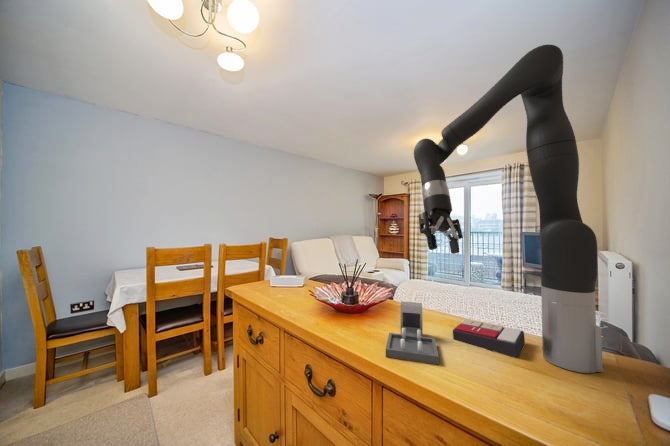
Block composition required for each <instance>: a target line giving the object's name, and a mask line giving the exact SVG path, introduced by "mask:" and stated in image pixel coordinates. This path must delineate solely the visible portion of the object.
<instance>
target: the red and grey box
mask: <svg viewBox="0 0 670 446" xmlns="http://www.w3.org/2000/svg"><path fill="white" fill-rule="evenodd" d="M452 338H453V340H454V341H458V342H460V343H464V344H467V345H471V346H474V347H478V348H481V349H485V350H489V351H493V352H495V353H498V354H501V355H504V356H507V357H511V358H515V359H519V358H520V357H521V353H522V352H523V350H524V347H525V345H526V343H525V341H526V340H525V332H524V331H523V330H521V329H518V328H512V327H507V326H505V327H504V325H501V324H495V323H489V322H484V323H483V321H479V320H473V319H467V318H466V319H463V321H461V322H460V323H459V324H458V325H456V326H455V327H454V328H453V329H452Z"/></svg>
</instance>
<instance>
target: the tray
mask: <svg viewBox="0 0 670 446" xmlns="http://www.w3.org/2000/svg"><path fill="white" fill-rule="evenodd" d="M437 347H438V346H437V343H436V339H435V338H434V337H426V336H423V337H421V330H417V336H412V335H406V329H405V328H402V334H401V333H394V332H389V333H388V337H387V341H386V346H385V357H386V358H391V359H392V358H393V359H399V360H407V361H413V362H420V363H426V364H431V365H432V364H433V365H440V363H439V361H440V360H439V357H440V356H439V351H438V348H437Z"/></svg>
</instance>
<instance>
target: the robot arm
mask: <svg viewBox="0 0 670 446" xmlns="http://www.w3.org/2000/svg"><path fill="white" fill-rule="evenodd" d="M563 75H564V54H563V52H562V50H561V48H560V47H559V46H558V45H555V44H542V45H540V46H537V47H534V48H533V49H531V50H529V51H528V52H526V54H524V56H522V57H521V58H520V59H519V60H518V61H517V62H516V63H515V64H513V66H512V67H511V68H510V69H509V70H508V71H507V73H505V74H504V75H503V76H502V77H501V78H500V79H499V80H498V81H497V82H496V83H495V84H494V85H492V87H491V88H490V89H489V90H488V91H487V92H486V93H484V95H482V96H481V97H480V98H479V99H478V100H477V101H476V102H474V103H473V105H471V106H470V107H468V109H467V110H465V111H464V112H462V113H461V114H460V115H459V116H458V117H456V118H454V120H453V121H451V122H450V123H448V125H446V126H445V127H444V128H442V130H441V133H440V134H441V137H442V139H441V140H440V141H439V142H438V143H436V142H435V141H434V140H433V139H431V138H422V139H420V140H419V141H417V143H416V145H415V146H414V149H413V157H414V163H415V165H416V168H417V170H418V173H419V175H420V182H421V183H420V184H421V193H422V194H421V195H422V203H423V209H424V211H423V212H421V213H418V224H419V225H418V226H419V232H420V234H422V235H423V234H424V235H425V237H426V242H427V246H428V249H429V250H431V251H433V250H436V249H438V245H437V237H436V236H437V235H435V234H436V232H438V231H439V232H440V233H442V234H443V236H446V237H447V239H448V240H449V241H448V242H449V243H448V244H449V249H450V254H452V255H454V254H458V253H460V245H459V240H460V239H463V232H462V227H461V224H460V220H459V219H458V218H455V219H452V217H451V213H452V212H453V206H452V200H451V196H450V190H449V187H448V185H447V179H446V173H445V170H444V168H443V167H442V166H441V164H443V163H444V162H445V161H446V160H447V159H448V158H449V157H450V156H452V153H453V152H454V151H455V150H456V149H457V147H459V146H460V145H462V144H463V143H464V142H467V140H469V139H470V138H472V137H473V136H474V135H476V134H477V133H478V132H479V131H481V130H482V129H483V128H484V127H485V126H486V125H487V124H488V123H489V121H490V120H491V119H493V117H494V116H495V115H496V114H497V113H498V112H499V111H500V110H501V109H503V108H504V107H505V106H506V105H508V103H510V102H511V101H512V100H514V99H515V98H517V97H518V96H519V95H520V97H521V100H522V103H523V106H524V110H525V114H526V132H525V133H526V134H525V136H526V137H525V139H526V141H525V142H526V143H525V145H526V146H525V147H526V156H527V164H528V167H529V173H530V178H531V181H532V185H533V189H534V192H535V197H536V199H537V203H538V210H539V237H538V238H539V244H540V246H541V249H540V250H541V252H540V253H541V273H540V285H541V286H540V287H541V288H540V290H541V292H540V293H541V329H542V330H541V333H542V334H541V335H542V337H541V338H542V339H541V340H542V342H541V343H542V346H541V349H542V358H543V359H544V360H546V361H547V362H549V363H551V364H552V365H553V366H557V367H559V368H561V369H565V370H569V371H573V372H577V373H582V374H593V373H597V372H599V373H603V372H604V370H603V369H604V367H603V366H604V365H603V334H602V333H603V332H602V331H603V329H602V328H601V327H600V326H599V325H598V324H597V315H596V310H597V309H596V282H597V280H598V279H597V278H598V241H597V240H598V239H597V236H596V234H595V231H594V230H593V228H592V227H590V226H589V225H588V224H586V223H584V222H583V219H582V215H581V211H580V207H579V203H578V187H579V176H580V174H579V173H580V171H579V170H580V158H579V157H580V156H579V152H578V151H579V150H578V146H577V145H578V144H577V140H576V136H575V133H574V129H573V126H572V123H571V122H570V121H571V120H570V119H569V116H568V115H567V113H566V110H565V107H564V100H563V97H564V96H563Z"/></svg>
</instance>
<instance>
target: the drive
mask: <svg viewBox="0 0 670 446" xmlns="http://www.w3.org/2000/svg"><path fill="white" fill-rule="evenodd" d="M399 312H400V334H402V328H405V329H406V335H412V336H417V330H421V337H424V336H423V303H422V302H412V301H404V300H403V301H402V300H401V301H400V310H399Z"/></svg>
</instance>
